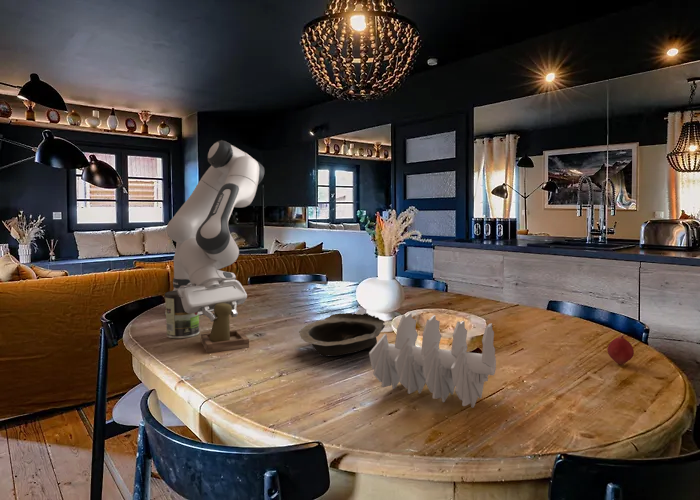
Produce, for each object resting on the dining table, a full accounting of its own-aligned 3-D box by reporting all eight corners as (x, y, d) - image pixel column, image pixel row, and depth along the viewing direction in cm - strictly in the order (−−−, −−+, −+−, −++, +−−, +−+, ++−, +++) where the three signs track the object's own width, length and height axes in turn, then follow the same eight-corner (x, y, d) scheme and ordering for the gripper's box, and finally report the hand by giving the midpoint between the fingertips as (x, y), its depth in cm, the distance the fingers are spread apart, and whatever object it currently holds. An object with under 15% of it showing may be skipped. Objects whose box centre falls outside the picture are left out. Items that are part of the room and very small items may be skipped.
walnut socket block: (201, 342, 138) (200, 334, 138) (240, 337, 144) (240, 329, 143) (207, 353, 128) (207, 344, 127) (249, 347, 133) (248, 339, 133)
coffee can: (205, 330, 151) (204, 289, 150) (188, 339, 141) (187, 295, 140) (178, 329, 153) (176, 288, 152) (159, 337, 143) (157, 294, 142)
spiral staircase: (393, 395, 108) (500, 413, 95) (359, 387, 94) (479, 407, 81) (404, 321, 114) (506, 329, 101) (373, 302, 99) (487, 309, 87)
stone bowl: (392, 341, 138) (392, 312, 136) (374, 376, 114) (374, 341, 113) (316, 334, 144) (315, 306, 143) (285, 366, 121) (284, 333, 119)
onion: (601, 362, 118) (603, 332, 118) (617, 359, 120) (619, 330, 120) (622, 369, 113) (623, 338, 112) (638, 366, 115) (639, 336, 114)
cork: (230, 342, 133) (234, 305, 132) (209, 342, 131) (213, 304, 130) (228, 337, 138) (232, 302, 138) (208, 336, 136) (212, 301, 136)
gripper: (178, 280, 131) (196, 318, 125) (238, 272, 146) (257, 306, 140) (172, 293, 134) (189, 330, 129) (231, 284, 149) (249, 318, 143)
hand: (225, 318), depth 134 cm, fingers open, 6 cm apart
